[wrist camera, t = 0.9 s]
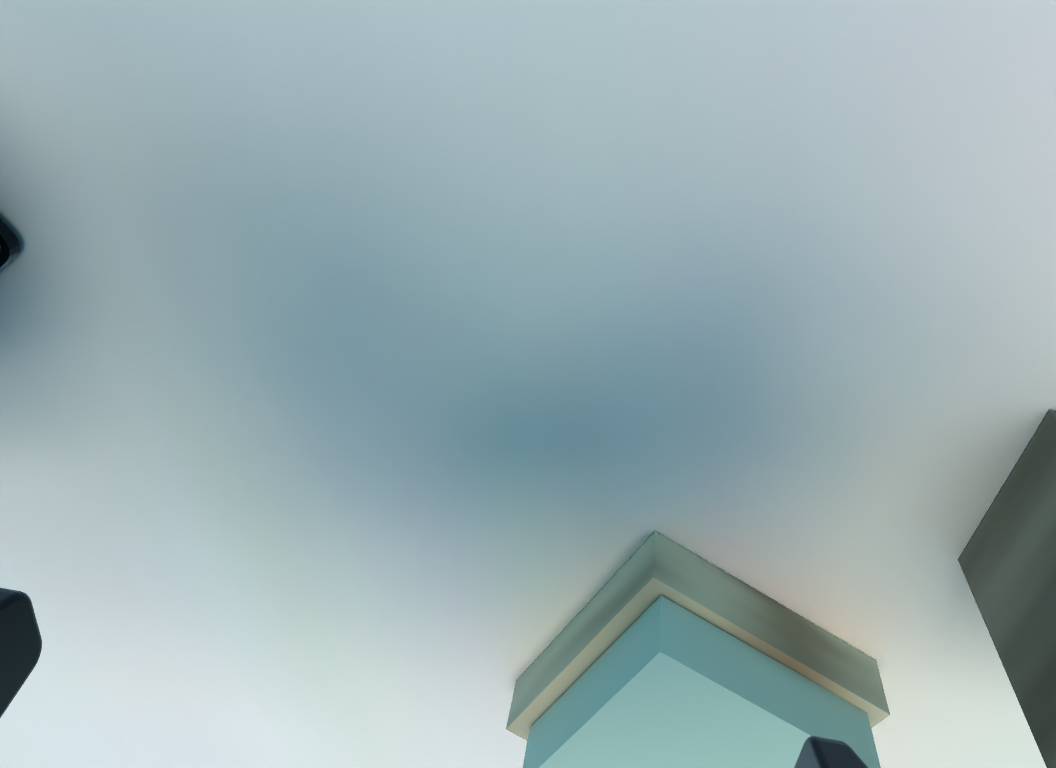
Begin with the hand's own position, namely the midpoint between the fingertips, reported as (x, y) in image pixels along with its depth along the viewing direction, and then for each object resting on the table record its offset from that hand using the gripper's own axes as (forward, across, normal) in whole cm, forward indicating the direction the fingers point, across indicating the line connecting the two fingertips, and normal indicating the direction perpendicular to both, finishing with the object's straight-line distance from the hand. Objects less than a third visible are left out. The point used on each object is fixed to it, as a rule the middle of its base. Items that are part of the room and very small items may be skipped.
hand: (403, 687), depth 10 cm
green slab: (+11, +6, -13) cm, 18 cm away
